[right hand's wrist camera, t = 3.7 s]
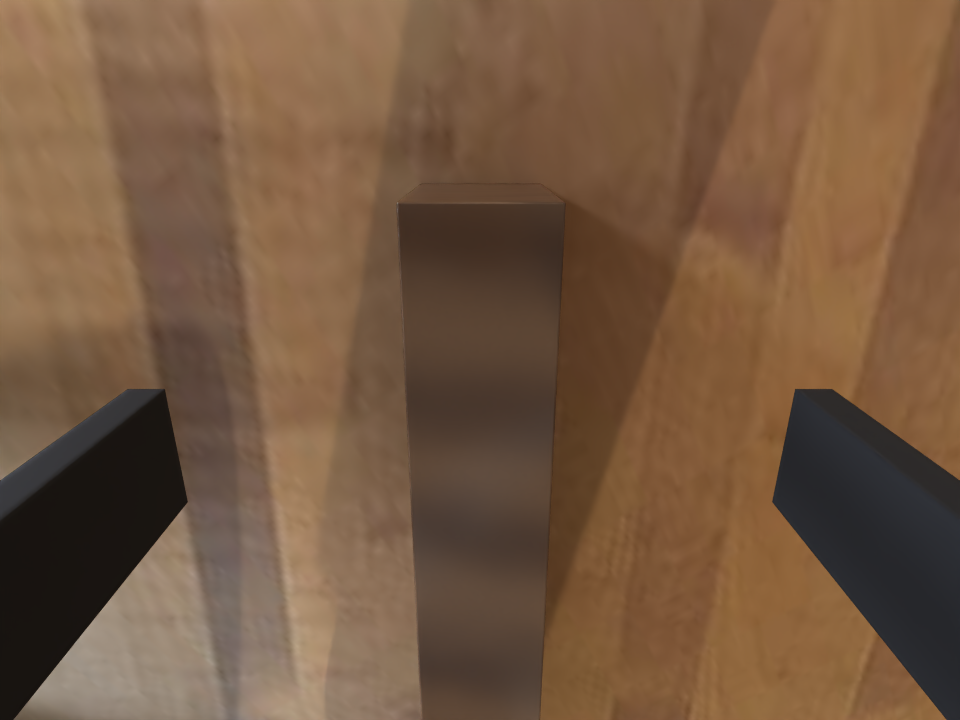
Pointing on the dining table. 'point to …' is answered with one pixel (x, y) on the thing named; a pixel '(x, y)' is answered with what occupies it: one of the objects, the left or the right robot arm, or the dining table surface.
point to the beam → (480, 437)
